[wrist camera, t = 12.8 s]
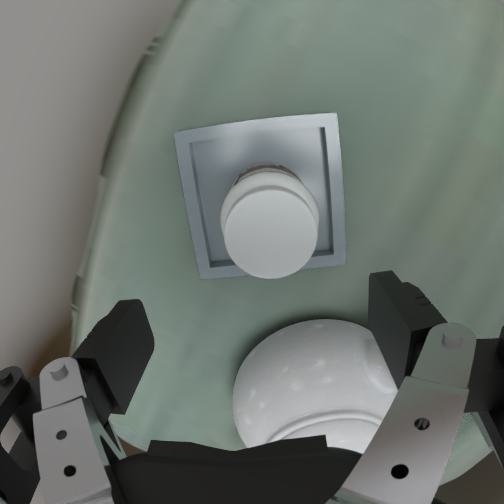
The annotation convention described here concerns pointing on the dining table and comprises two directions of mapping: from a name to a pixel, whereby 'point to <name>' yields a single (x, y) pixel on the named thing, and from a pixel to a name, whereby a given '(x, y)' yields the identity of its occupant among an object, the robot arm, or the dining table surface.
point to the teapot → (314, 386)
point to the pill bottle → (269, 221)
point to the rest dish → (250, 153)
